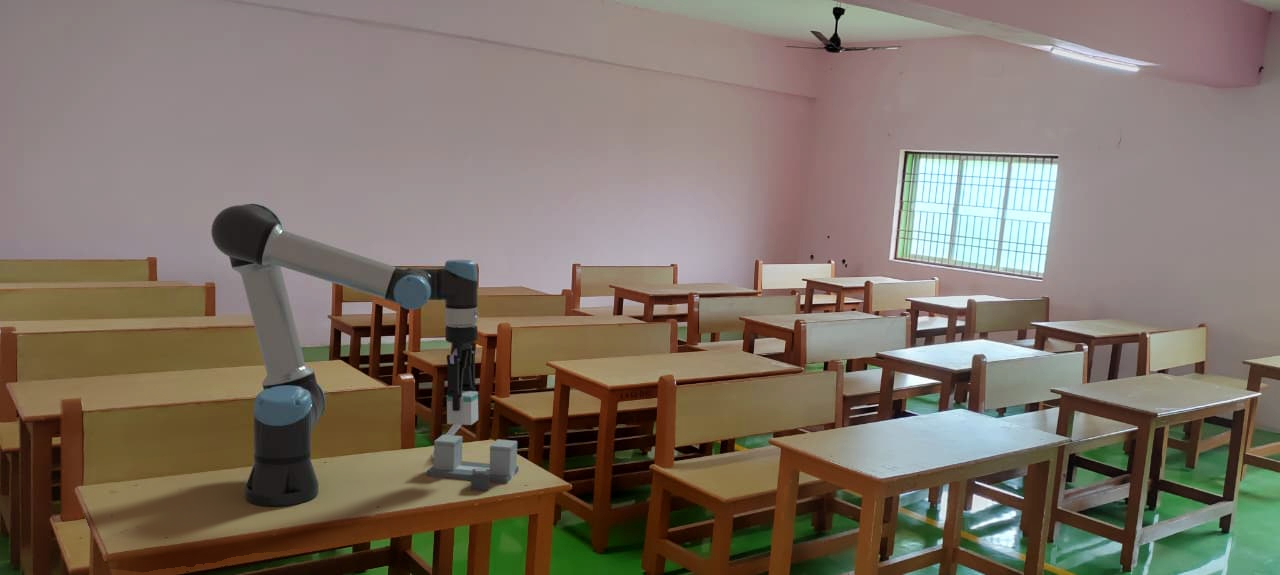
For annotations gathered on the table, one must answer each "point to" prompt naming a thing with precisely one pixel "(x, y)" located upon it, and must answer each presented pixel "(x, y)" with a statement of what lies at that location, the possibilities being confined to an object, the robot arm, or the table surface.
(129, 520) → the table surface
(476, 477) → the block
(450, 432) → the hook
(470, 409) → the block
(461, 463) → the rail board
